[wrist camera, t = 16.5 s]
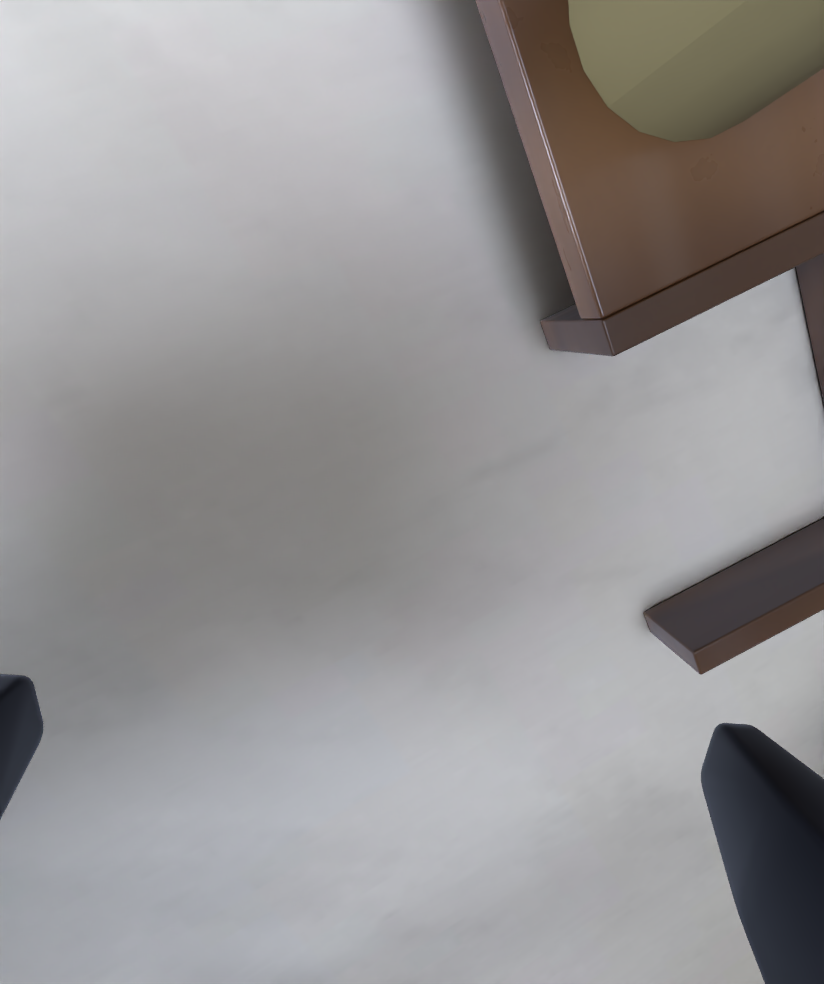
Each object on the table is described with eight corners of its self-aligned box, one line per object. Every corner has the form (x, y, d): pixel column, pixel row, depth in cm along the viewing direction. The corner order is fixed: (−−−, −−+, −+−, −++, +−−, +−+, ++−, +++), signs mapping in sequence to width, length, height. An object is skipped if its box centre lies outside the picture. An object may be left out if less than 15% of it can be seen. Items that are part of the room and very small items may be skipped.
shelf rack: (863, 520, 23) (973, 558, 20) (650, 632, 23) (721, 693, 19) (717, -229, 16) (851, -401, 12) (393, -88, 15) (428, -222, 12)
